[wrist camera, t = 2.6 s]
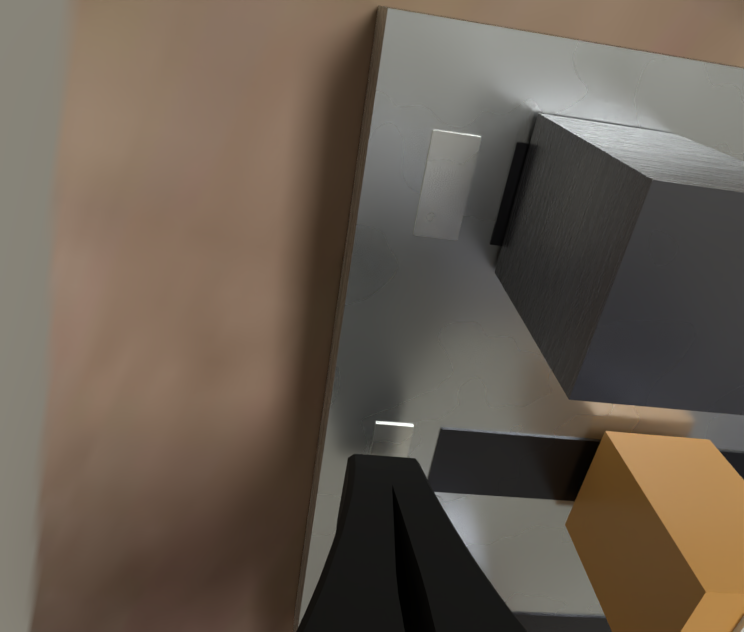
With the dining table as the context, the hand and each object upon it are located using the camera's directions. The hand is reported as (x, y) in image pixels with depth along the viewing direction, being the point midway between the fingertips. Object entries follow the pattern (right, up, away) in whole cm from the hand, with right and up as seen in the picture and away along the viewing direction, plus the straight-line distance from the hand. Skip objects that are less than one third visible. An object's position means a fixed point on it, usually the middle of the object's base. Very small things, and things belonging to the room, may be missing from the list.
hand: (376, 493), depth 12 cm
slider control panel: (+6, +1, +3) cm, 7 cm away
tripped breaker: (+6, 0, +1) cm, 6 cm away
